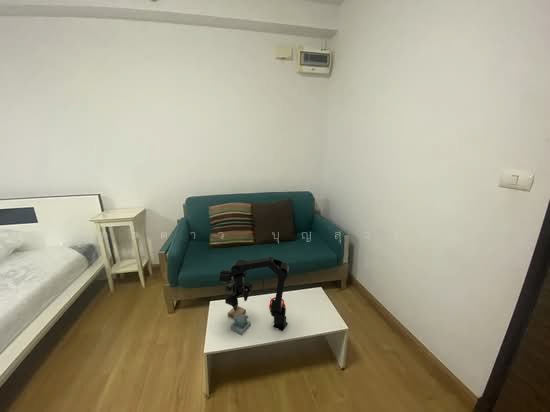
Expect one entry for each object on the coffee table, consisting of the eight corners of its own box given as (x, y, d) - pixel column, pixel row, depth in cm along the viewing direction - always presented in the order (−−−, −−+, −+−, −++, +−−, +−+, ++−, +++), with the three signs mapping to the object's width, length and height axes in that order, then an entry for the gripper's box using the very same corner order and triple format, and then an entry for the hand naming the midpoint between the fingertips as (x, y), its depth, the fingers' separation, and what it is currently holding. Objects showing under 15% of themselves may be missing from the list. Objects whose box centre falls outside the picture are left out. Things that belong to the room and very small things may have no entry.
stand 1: (246, 312, 144) (245, 309, 143) (237, 321, 137) (237, 317, 137) (236, 308, 148) (236, 305, 147) (227, 316, 141) (227, 312, 141)
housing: (239, 319, 135) (238, 312, 134) (248, 323, 132) (247, 316, 130) (233, 324, 131) (232, 317, 130) (242, 329, 128) (242, 322, 126)
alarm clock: (283, 294, 154) (287, 305, 140) (283, 303, 155) (287, 315, 140) (267, 296, 153) (270, 307, 138) (268, 305, 153) (271, 317, 138)
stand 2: (250, 325, 133) (250, 322, 133) (242, 335, 127) (241, 331, 126) (240, 320, 138) (239, 317, 137) (231, 329, 131) (230, 326, 130)
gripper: (238, 270, 140) (239, 292, 144) (216, 287, 125) (219, 311, 129) (252, 275, 135) (254, 298, 139) (232, 293, 119) (234, 318, 123)
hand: (240, 305), depth 133 cm, fingers open, 9 cm apart
